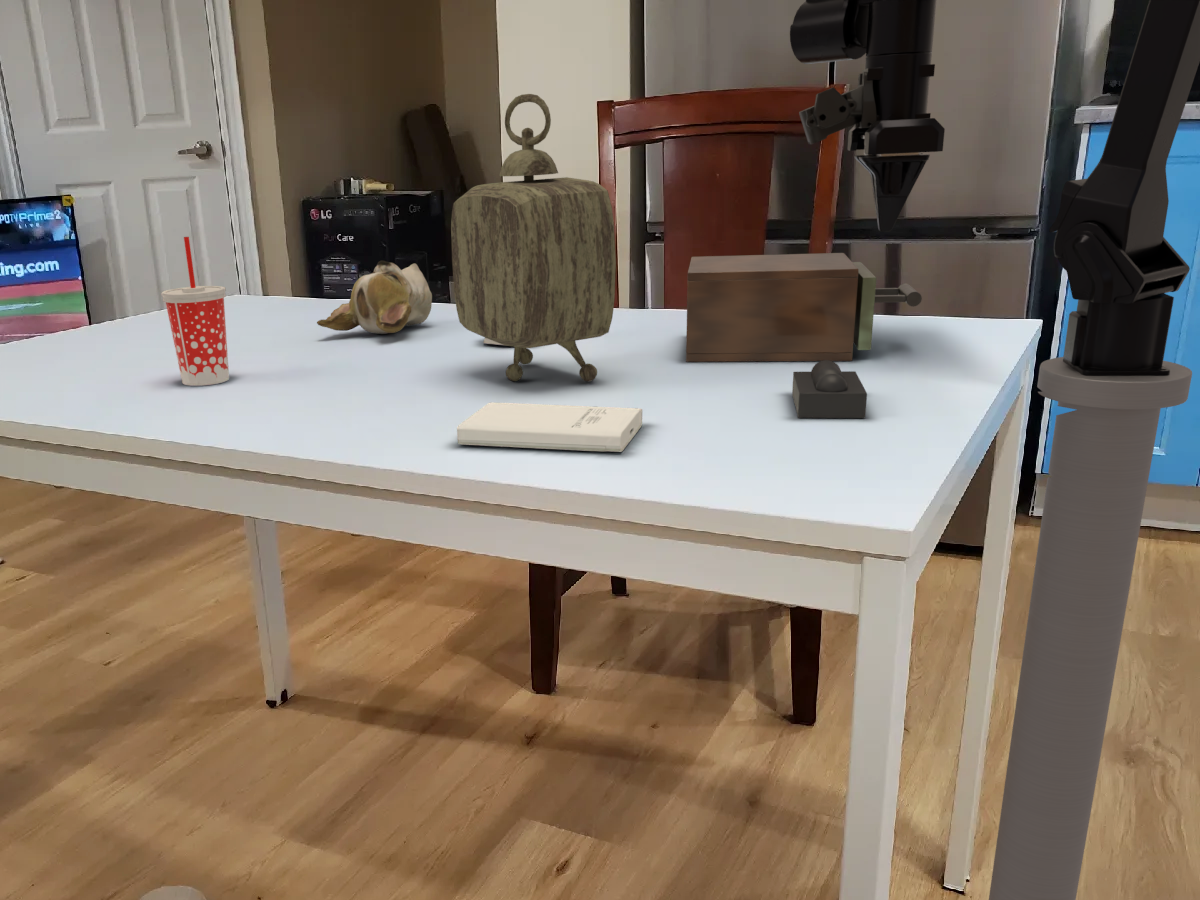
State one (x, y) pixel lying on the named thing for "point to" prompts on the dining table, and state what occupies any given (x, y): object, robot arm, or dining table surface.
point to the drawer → (868, 298)
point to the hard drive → (551, 427)
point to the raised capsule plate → (828, 392)
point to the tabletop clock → (534, 255)
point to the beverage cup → (198, 330)
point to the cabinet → (771, 308)
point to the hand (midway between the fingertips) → (884, 231)
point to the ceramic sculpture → (384, 301)
